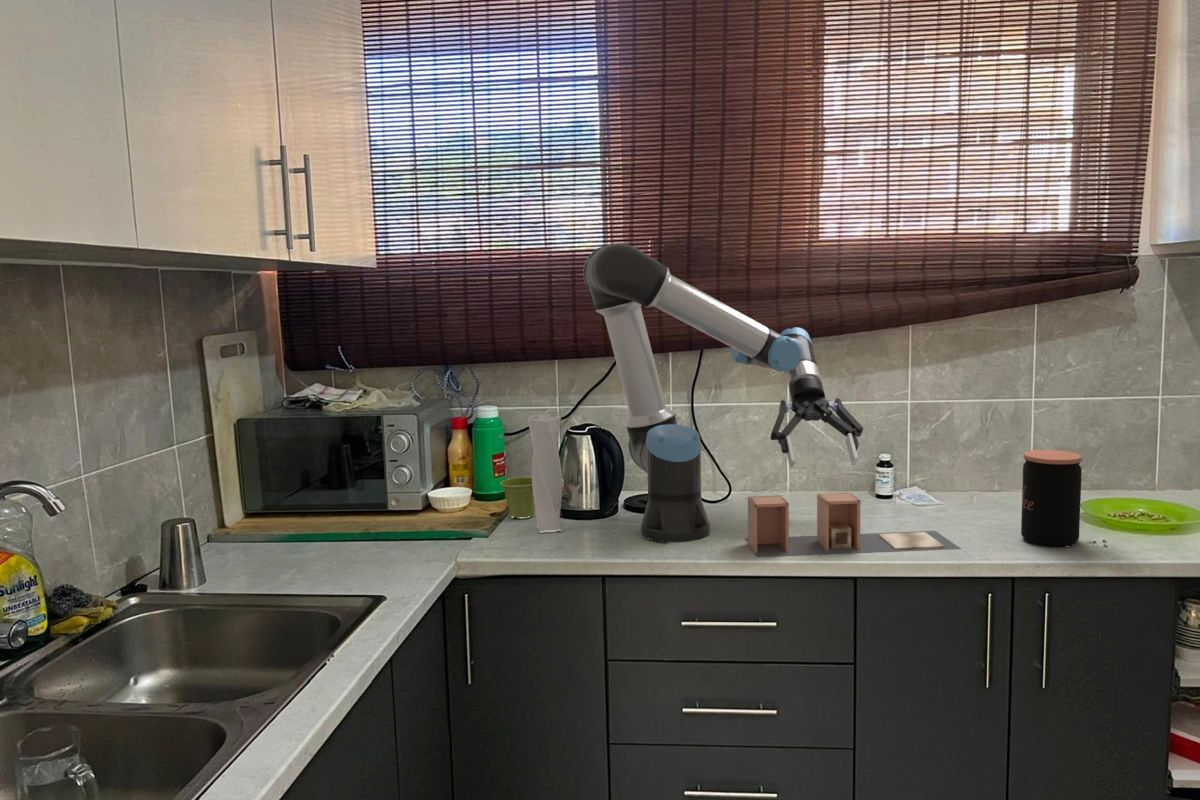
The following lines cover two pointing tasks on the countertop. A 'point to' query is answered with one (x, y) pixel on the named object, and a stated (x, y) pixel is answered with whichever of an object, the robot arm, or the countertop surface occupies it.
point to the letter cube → (839, 535)
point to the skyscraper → (546, 470)
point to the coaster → (910, 541)
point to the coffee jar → (1051, 498)
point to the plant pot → (519, 496)
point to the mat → (867, 545)
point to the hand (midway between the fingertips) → (823, 463)
